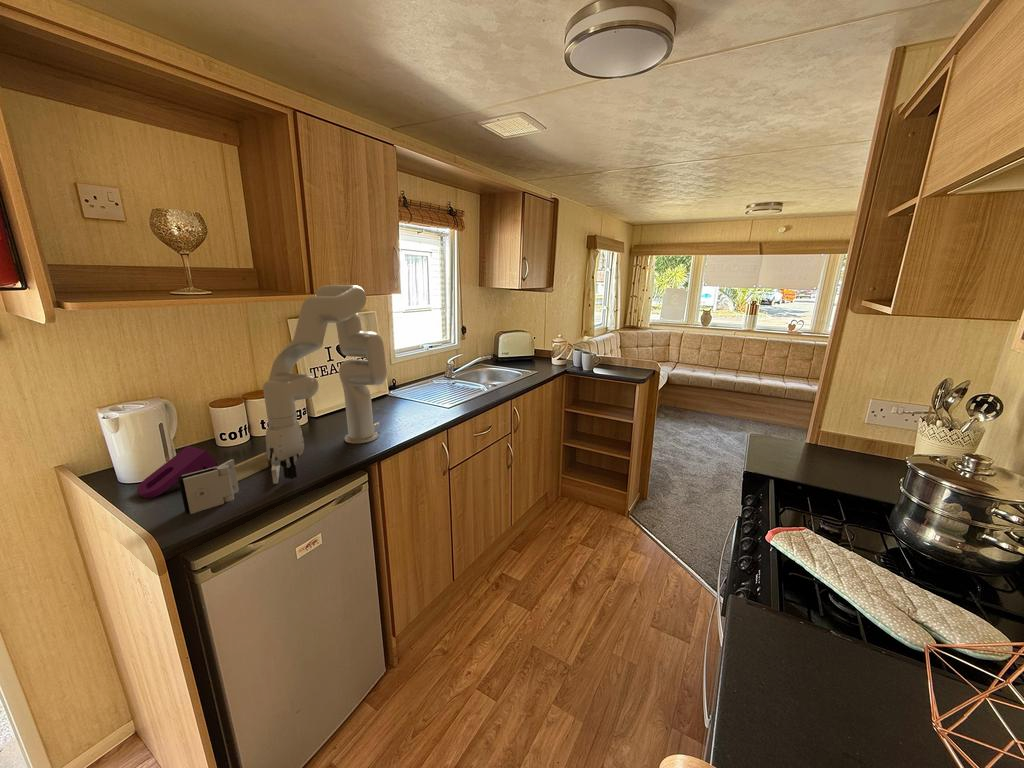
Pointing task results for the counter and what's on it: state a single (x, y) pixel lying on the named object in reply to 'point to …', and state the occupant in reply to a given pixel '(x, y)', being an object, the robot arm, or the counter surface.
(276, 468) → the open leaf
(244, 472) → the fixed leaf
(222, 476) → the hinge
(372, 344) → the robot arm
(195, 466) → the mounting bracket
